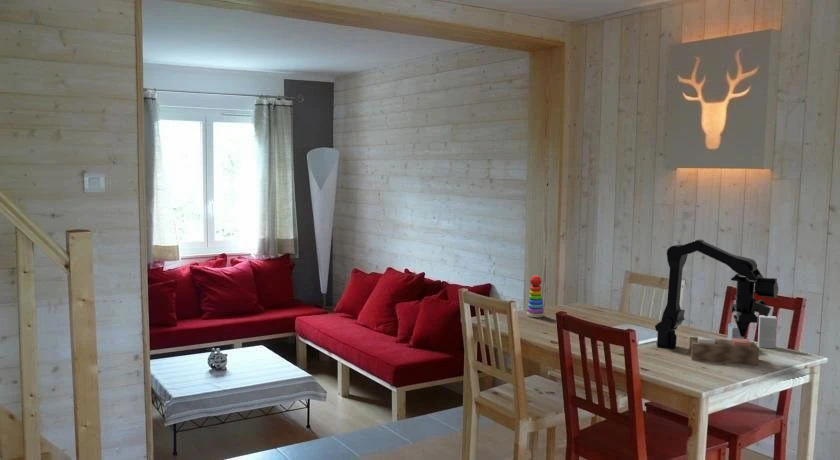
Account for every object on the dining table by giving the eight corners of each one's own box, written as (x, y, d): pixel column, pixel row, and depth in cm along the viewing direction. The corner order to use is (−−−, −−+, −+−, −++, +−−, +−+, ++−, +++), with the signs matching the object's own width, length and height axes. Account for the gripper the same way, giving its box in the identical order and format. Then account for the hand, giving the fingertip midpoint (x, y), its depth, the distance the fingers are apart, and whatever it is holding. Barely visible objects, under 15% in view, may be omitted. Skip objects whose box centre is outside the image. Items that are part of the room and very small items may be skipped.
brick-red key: (734, 352, 254) (734, 341, 253) (731, 348, 259) (732, 338, 258) (750, 354, 252) (751, 343, 252) (747, 350, 257) (748, 339, 257)
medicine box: (743, 350, 270) (745, 328, 269) (731, 349, 270) (732, 327, 270) (738, 345, 277) (740, 323, 276) (726, 344, 278) (727, 322, 277)
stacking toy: (543, 314, 326) (545, 274, 324) (545, 318, 318) (546, 277, 317) (526, 313, 327) (527, 273, 325) (527, 317, 319) (528, 276, 317)
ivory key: (698, 349, 257) (699, 339, 256) (696, 345, 262) (697, 335, 262) (714, 351, 255) (715, 340, 255) (712, 347, 261) (713, 336, 260)
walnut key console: (691, 359, 256) (692, 343, 255) (689, 352, 265) (690, 337, 265) (758, 365, 250) (759, 349, 249) (752, 357, 259) (753, 342, 259)
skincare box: (774, 346, 276) (776, 316, 275) (775, 348, 272) (777, 318, 271) (757, 344, 278) (758, 314, 277) (758, 347, 274) (760, 317, 273)
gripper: (775, 300, 242) (772, 345, 244) (764, 290, 260) (761, 332, 262) (740, 298, 245) (737, 342, 247) (731, 288, 263) (729, 330, 265)
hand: (742, 336), depth 255 cm, fingers closed
